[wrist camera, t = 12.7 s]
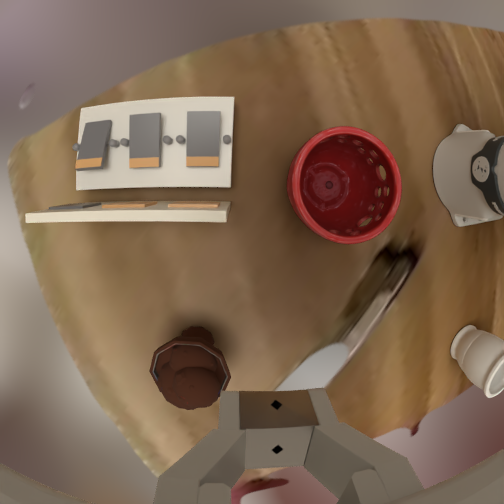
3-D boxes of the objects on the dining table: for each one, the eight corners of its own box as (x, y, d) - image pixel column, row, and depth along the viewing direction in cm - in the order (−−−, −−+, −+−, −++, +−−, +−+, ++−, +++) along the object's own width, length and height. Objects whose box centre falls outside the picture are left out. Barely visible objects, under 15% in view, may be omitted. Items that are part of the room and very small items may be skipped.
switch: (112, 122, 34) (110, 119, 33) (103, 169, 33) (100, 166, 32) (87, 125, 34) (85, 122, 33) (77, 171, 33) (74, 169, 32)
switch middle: (161, 112, 33) (159, 112, 32) (160, 166, 35) (158, 167, 35) (131, 115, 32) (129, 114, 32) (131, 167, 35) (129, 168, 34)
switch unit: (234, 104, 38) (233, 60, 23) (230, 208, 41) (226, 222, 26) (92, 113, 37) (34, 88, 21) (88, 208, 40) (25, 222, 25)
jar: (481, 341, 50) (520, 371, 36) (450, 370, 51) (487, 406, 37) (474, 310, 48) (520, 339, 33) (441, 341, 49) (484, 379, 34)
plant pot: (363, 145, 40) (404, 134, 28) (360, 231, 43) (399, 246, 31) (278, 137, 40) (294, 118, 28) (276, 228, 42) (290, 245, 31)
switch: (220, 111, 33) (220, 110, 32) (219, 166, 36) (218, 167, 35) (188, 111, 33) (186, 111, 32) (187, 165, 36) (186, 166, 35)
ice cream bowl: (186, 297, 44) (165, 347, 29) (244, 337, 46) (248, 397, 31) (152, 343, 45) (125, 399, 31) (207, 378, 47) (198, 441, 33)
